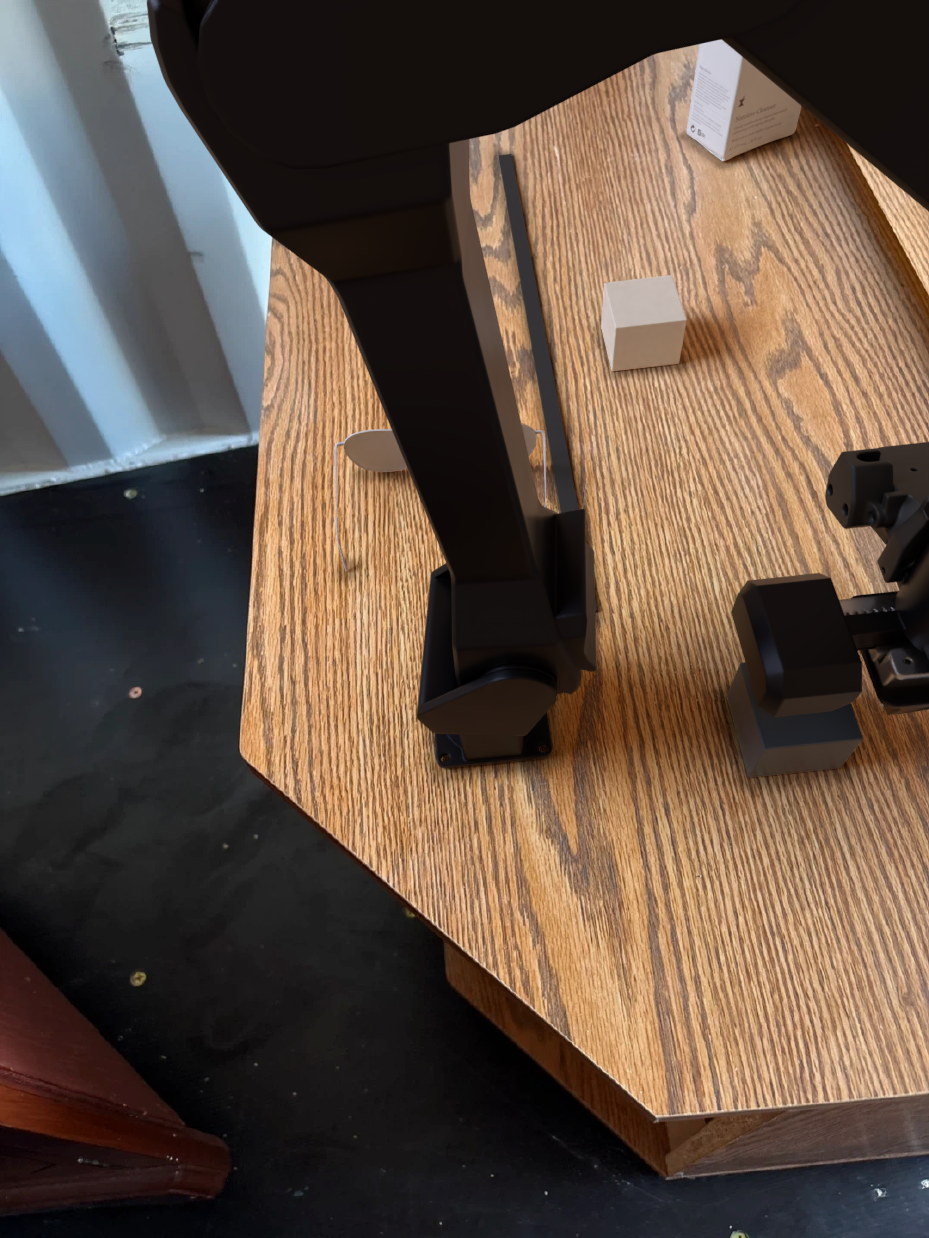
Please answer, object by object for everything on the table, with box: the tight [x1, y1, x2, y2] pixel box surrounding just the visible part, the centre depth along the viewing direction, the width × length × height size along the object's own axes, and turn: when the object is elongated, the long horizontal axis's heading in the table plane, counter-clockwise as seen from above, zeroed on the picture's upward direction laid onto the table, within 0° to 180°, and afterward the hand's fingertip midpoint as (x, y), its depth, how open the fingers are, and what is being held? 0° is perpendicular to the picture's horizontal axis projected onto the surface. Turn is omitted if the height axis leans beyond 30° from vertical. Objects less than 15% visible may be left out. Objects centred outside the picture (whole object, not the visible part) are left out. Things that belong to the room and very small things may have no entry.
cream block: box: [600, 274, 688, 372], centre depth 62 cm, size 5×5×4 cm
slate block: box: [726, 662, 864, 779], centre depth 46 cm, size 5×5×4 cm
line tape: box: [498, 153, 599, 613], centre depth 65 cm, size 50×1×1 cm, turn 4°
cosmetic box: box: [685, 39, 803, 162], centre depth 71 cm, size 8×6×15 cm
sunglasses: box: [333, 422, 548, 572], centre depth 55 cm, size 14×8×5 cm, turn 90°
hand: (890, 706), depth 46 cm, fingers closed
